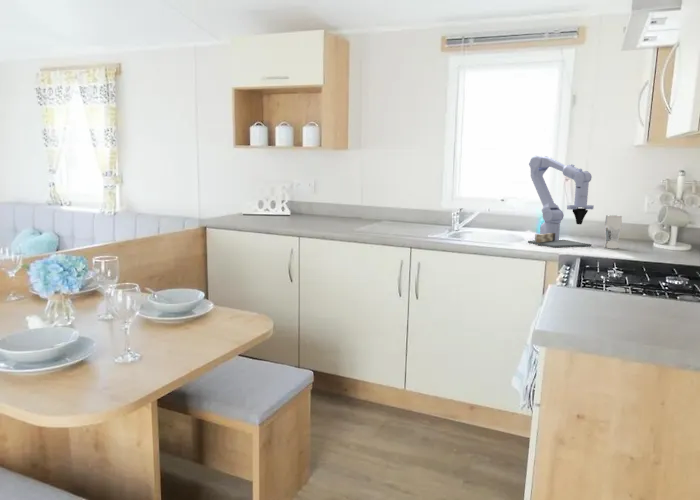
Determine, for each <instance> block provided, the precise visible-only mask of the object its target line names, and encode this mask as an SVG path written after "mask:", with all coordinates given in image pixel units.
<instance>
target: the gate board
mask: <svg viewBox="0 0 700 500" xmlns="http://www.w3.org/2000/svg"><path fill="white" fill-rule="evenodd" d="M537 235H540V233H535V234H534V240H528V241H527V243H528V244H532V243H533V245H537V244H538V245H537V246H543V247H547V248H553V249H556V248H582V247H583V248H585V247H592V244H591V243H585V242H580V241H575V240H574V241H573V240H569V239H568V240H567V239H562V240H555V241H547V242H541V243H538V242H537Z"/></svg>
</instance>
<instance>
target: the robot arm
mask: <svg viewBox="0 0 700 500" xmlns="http://www.w3.org/2000/svg"><path fill="white" fill-rule="evenodd" d="M528 165H529V167H530V178H531V181H532V183H533V185H534V188H535V190H536V193H537V194H538V197H539V199H540V202H541V204H542V209H541V213H542V220H543V221H544V222H542V223H541V224H540V228H539V234H548V233H555V240H559V239H560V230H561V229H560V228H561V221H562V220H563V219H564V211H563V210H561V209H560V207H559V205H558V204H556V203H555V202H554V199H553V198H552V195H551V192H550V189H549V188H548V185H547V183H546V181H545V179H544V174H545V173H546V171H548V169H549V167H550V168H553V169H556V170H557V171H561V172H562V174H563V176H565V177H567V178H569V179H571V180H573V181H574V182H575V184H574V185H575V192H574V193H575V194H574V201H573V202H574V204H570V205H569V204H567V205H566V209H567V210H570V211H571V210H572V214H573V215H574V218H575V223H576V225H582V224H583V220H584V219H585V217H586V215H587V214H588V212H589V210H594V209H595V208H594V205H592V204H589V205H588V199H589V198H588V197H589V183H590V182H591V181H592V178H593V177H592V174H591V172H589V171H587V170H583V169H582V168H578V167H576V166H575V165H574V164H567V165H566V164H564V163H562V162H560V161H559V160H558V161H557V160H556V159H554V158H552V157H549V156H545V155H544V156H542V155H541V156H539V155H534V156H532V157H531V159H530V161H529V163H528Z"/></svg>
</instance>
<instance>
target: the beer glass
mask: <svg viewBox="0 0 700 500" xmlns="http://www.w3.org/2000/svg"><path fill="white" fill-rule="evenodd" d="M622 217H623V216H622V215H617V214H616V215H614V214H612V215H611V214H607V215H605V220H604V235H605V240H604V241H605V242H604V245H603V248H604V249H608V250H609V249H610V250H619V238H620V235H621V230H622V226H623V225H622V223H623V218H622Z"/></svg>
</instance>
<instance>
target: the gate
mask: <svg viewBox="0 0 700 500" xmlns="http://www.w3.org/2000/svg"><path fill="white" fill-rule="evenodd" d="M539 234H540V233H539ZM547 241H555V233H548V234H540V235H537V242H538V243H541V242H547Z"/></svg>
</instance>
